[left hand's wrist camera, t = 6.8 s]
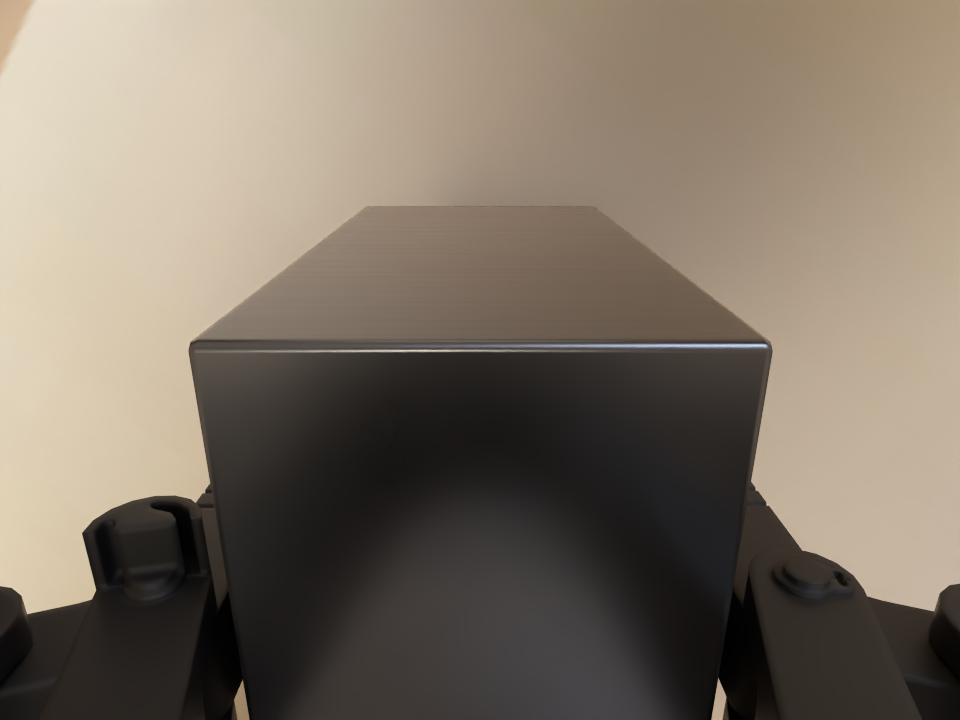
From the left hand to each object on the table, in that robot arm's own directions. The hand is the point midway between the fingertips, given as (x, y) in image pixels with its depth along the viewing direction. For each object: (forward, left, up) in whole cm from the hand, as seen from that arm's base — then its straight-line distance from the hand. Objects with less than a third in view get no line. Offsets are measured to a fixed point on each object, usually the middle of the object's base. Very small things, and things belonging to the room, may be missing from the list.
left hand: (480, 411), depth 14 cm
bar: (+6, +3, -1) cm, 7 cm away
